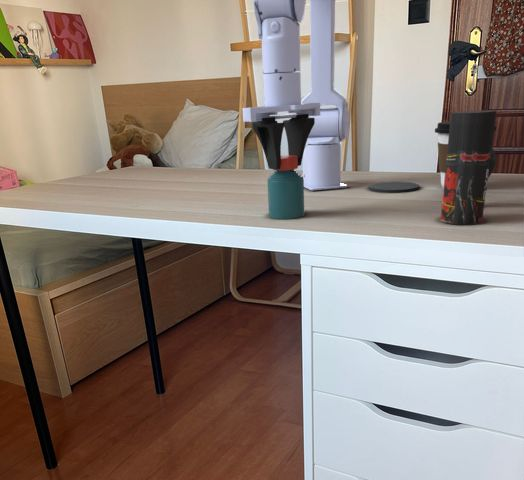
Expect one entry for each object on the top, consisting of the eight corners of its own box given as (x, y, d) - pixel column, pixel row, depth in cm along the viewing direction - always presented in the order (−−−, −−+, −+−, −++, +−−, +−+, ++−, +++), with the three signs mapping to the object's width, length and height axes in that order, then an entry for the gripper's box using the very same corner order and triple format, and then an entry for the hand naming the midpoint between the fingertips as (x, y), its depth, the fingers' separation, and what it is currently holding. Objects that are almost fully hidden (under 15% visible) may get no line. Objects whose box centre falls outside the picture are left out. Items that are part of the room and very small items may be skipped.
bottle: (263, 214, 91) (260, 160, 87) (294, 210, 93) (293, 157, 89) (277, 220, 86) (275, 164, 82) (310, 215, 88) (309, 160, 84)
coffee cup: (445, 181, 111) (451, 120, 106) (497, 185, 104) (506, 119, 99) (419, 189, 104) (424, 124, 99) (473, 194, 97) (481, 124, 92)
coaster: (361, 186, 111) (361, 184, 111) (404, 182, 113) (405, 180, 113) (381, 194, 102) (381, 191, 102) (428, 189, 104) (428, 187, 104)
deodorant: (485, 224, 76) (500, 111, 70) (442, 225, 78) (453, 113, 71) (478, 215, 82) (492, 109, 75) (438, 216, 83) (448, 111, 76)
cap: (303, 168, 85) (302, 156, 85) (281, 171, 84) (280, 159, 83) (288, 166, 89) (288, 154, 88) (267, 168, 87) (266, 157, 86)
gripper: (261, 72, 73) (266, 174, 79) (334, 70, 81) (333, 163, 87) (231, 75, 78) (238, 171, 84) (302, 73, 86) (304, 160, 92)
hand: (284, 167), depth 86 cm, fingers closed on cap, 4 cm apart
